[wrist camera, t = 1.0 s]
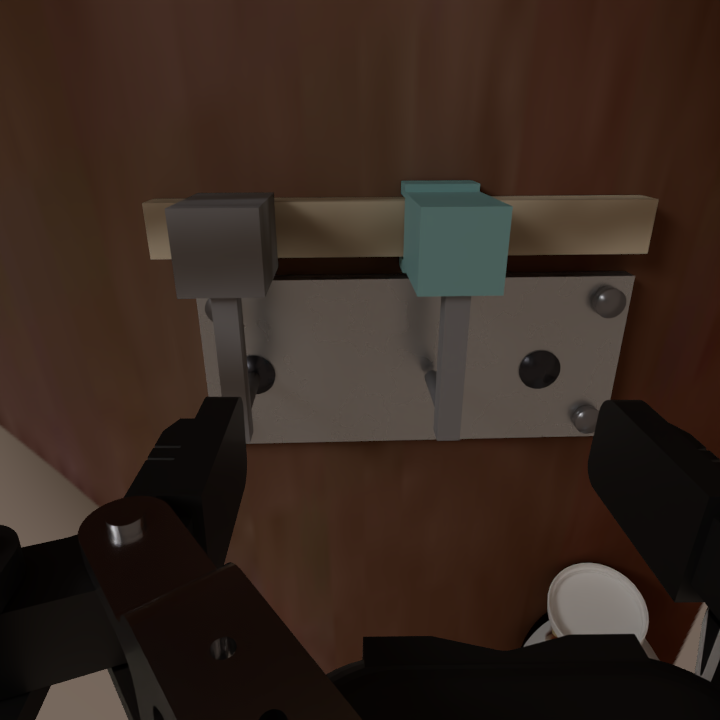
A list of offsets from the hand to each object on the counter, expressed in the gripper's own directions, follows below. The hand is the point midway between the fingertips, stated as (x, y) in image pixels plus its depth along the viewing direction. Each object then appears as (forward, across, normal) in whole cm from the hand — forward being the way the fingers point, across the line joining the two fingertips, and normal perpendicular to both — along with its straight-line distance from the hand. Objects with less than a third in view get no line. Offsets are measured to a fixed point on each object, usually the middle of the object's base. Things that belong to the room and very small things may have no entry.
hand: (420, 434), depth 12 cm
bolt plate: (+22, -3, +7) cm, 23 cm away
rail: (+22, -2, +3) cm, 22 cm away
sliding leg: (+22, -4, +2) cm, 22 cm away
